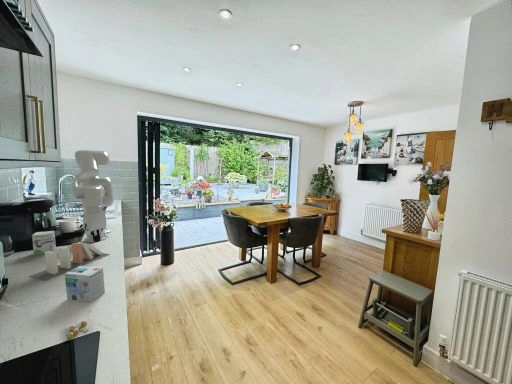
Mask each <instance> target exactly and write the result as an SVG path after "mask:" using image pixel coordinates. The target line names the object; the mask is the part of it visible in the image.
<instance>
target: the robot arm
mask: <svg viewBox="0 0 512 384" xmlns="http://www.w3.org/2000/svg"><path fill="white" fill-rule="evenodd" d="M74 158H75V161H76V164H77V166H78V168H79V169H80V172H79V173H78V174H76V175H75V176H74V178H73V180H72V185H71V186H72V196H73V198H74V199H76V200H80V201H81V205H82V208H83V217H82V230H83V231H84V234H85V237H84V238H83V243H100V242H101V241H104V240H106V239H107V238H108V237H107V234H111V230H109V229H107V218H106V217H107V216H106V213H105V211H104V208H105V207H111V206H113V205H114V203H115V202H114V201H115V200H114V190H113V182H112V180H111V179H110V177H106V176H103V177H102V176H100V177H99V175H100V168H99V166H107V165H109V163H110V157H109V154H108V153H107V151H106V150H92V149H91V150H90V149H84V150H83V149H82V150H77V151H75V153H74ZM81 183H82V185H80V184H81ZM106 229H107V230H106Z"/></svg>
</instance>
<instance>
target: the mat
mask: <svg viewBox="0 0 512 384" xmlns="http://www.w3.org/2000/svg"><path fill="white" fill-rule="evenodd" d="M102 253H103V254H102V255H96V254H93V253H92V252H91V254H92V255H93V257H94V258H92V259H86V258H84V257H83V263H81V264H78V263H73V259H71V268H68V269H66V268H62V267H61V265H60V264H57V266H58V273H56V274H51V273H48V272H47V269H44V270H42V271H40V272H36V273H34V274H30V275H29V276H27V277H28V278H31V279H34V280H39V281H43V282H48V281H50V280H51V279H54V278H57V277H59V276H61V275H65V273H67V272H69V271H71V270H73V269H75V268H77V267H79V266H87V265H88V264H91V263H93V262H96V261H98V260H101V259H104V258H105V257H108V256H110V255H111V254H110V253H106V252H102Z"/></svg>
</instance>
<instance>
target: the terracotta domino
mask: <svg viewBox="0 0 512 384" xmlns="http://www.w3.org/2000/svg"><path fill="white" fill-rule="evenodd" d="M70 246H71V254H72V255H71V256H72V260H73V263H78V264H81V263H83V255H82V244H78V242H74V243H71V245H70Z"/></svg>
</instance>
